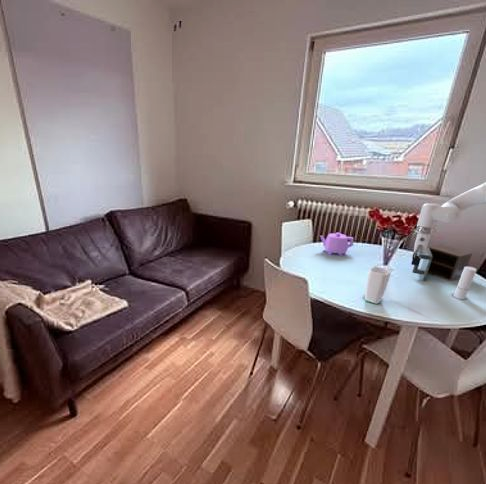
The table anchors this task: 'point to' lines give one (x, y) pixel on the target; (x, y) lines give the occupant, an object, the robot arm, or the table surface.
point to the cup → (376, 284)
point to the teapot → (337, 243)
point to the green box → (424, 264)
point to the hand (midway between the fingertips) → (415, 261)
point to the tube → (465, 282)
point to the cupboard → (448, 262)
